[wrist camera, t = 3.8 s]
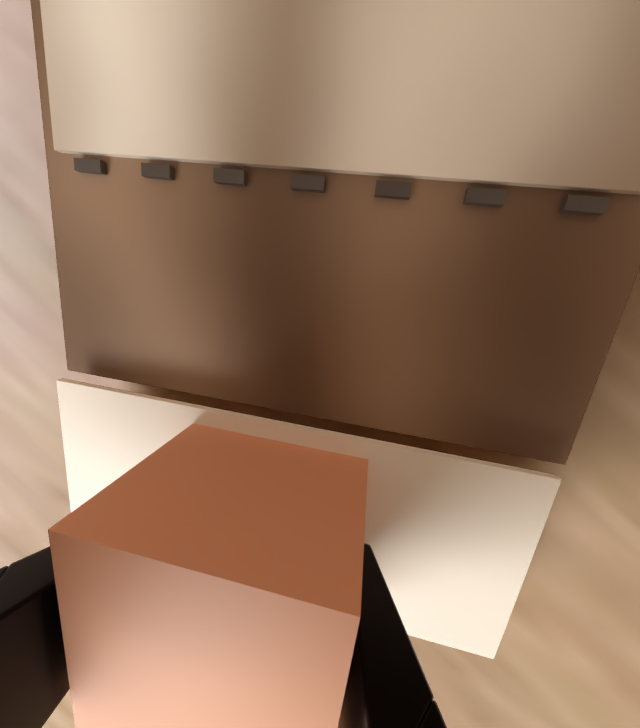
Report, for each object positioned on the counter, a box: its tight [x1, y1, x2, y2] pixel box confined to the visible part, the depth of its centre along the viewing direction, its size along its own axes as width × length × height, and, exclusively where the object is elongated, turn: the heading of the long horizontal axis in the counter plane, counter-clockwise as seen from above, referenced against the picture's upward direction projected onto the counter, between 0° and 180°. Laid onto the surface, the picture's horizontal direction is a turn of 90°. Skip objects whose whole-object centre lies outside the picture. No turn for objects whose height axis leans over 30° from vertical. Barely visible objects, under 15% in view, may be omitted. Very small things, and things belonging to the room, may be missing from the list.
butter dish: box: [48, 379, 562, 728], centre depth 7 cm, size 14×6×4 cm, turn 83°
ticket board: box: [31, 0, 640, 465], centre depth 7 cm, size 15×18×2 cm
